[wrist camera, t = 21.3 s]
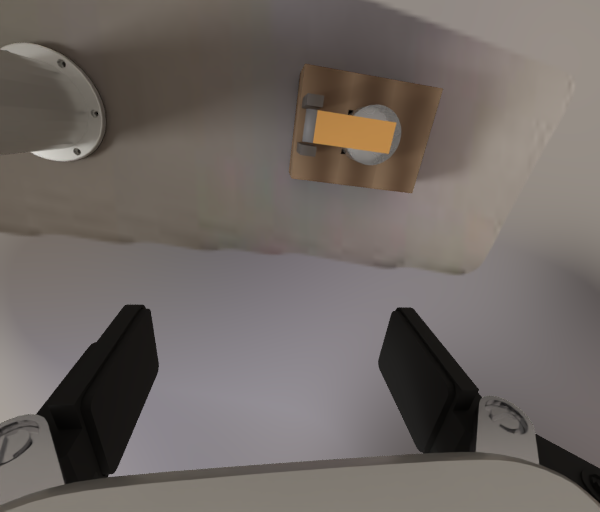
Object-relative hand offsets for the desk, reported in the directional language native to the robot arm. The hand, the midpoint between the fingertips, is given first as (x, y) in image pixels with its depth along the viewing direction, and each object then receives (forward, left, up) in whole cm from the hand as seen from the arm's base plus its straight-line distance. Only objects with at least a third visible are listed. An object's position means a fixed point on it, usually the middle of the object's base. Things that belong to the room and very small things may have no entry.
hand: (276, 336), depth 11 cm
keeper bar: (+7, +8, -23) cm, 25 cm away
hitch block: (+10, +8, -33) cm, 35 cm away
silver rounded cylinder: (+10, +8, -32) cm, 35 cm away
